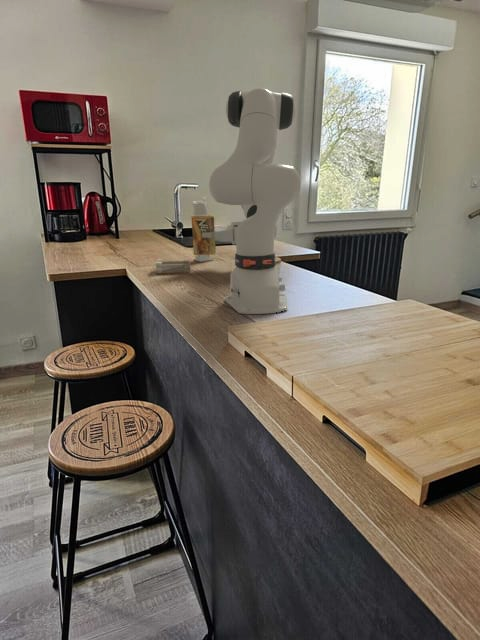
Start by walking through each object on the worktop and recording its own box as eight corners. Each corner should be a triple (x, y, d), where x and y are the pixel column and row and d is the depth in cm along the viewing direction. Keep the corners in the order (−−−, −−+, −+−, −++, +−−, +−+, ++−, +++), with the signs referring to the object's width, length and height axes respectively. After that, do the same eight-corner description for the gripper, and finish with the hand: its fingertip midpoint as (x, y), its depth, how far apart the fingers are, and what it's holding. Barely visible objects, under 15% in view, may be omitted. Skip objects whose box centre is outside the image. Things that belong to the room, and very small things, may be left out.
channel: (190, 273, 168) (189, 262, 167) (156, 274, 167) (155, 263, 165) (190, 268, 178) (189, 257, 176) (158, 269, 176) (157, 258, 175)
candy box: (215, 253, 173) (214, 214, 169) (215, 254, 169) (214, 215, 164) (194, 253, 173) (192, 215, 168) (193, 255, 169) (191, 216, 164)
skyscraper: (215, 261, 192) (213, 197, 183) (200, 263, 188) (196, 197, 179) (206, 258, 199) (203, 196, 190) (191, 260, 194) (187, 197, 186)
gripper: (232, 223, 179) (200, 224, 177) (238, 227, 160) (202, 228, 158) (233, 238, 181) (200, 239, 179) (239, 244, 161) (203, 245, 160)
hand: (201, 234), depth 168 cm, fingers closed on candy box, 4 cm apart
